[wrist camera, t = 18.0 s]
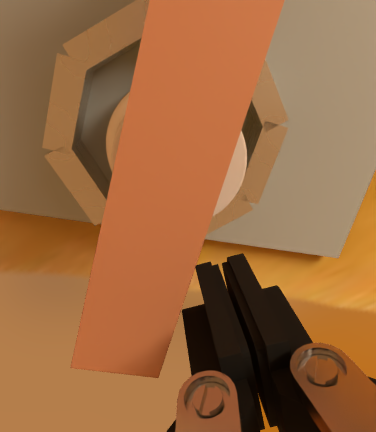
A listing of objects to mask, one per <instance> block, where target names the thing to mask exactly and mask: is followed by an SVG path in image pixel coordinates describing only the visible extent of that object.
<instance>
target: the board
mask: <svg viewBox="0 0 376 432" xmlns="http://www.w3.org/2000/svg"><path fill="white" fill-rule="evenodd" d="M134 1H136V0H0V210H5V211H12V212H19V213H26V214H33V215H40V216H47V217H54V218H61V219H68V220H75V221H82V222H89V223H92V221H91V220H90V219H89V217H88V216H87V214H86V213H85V212H84V210H83V209H82V208H81V206H80V205H79V203H78V202H77V201H76V199H75V198H74V197H73V195H72V194H71V192H70V191H69V190H68V188H67V187H66V186H65V184H64V183H63V181H62V180H61V179H60V177H59V176H58V175H57V173H56V172H55V170H54V169H53V168H52V166H51V165H50V163H49V162H48V161H47V159H46V158H45V157H44V156H45V155H46V154H47V153H49V152H50V151H51V150H49V149H45V148H42V145H43V139H44V132H45V126H46V120H47V113H48V107H49V101H50V94H51V88H52V82H53V75H54V69H55V63H56V56H57V53H59V54H63V55H67V56H69V55H68V53H67V52H66V50H65V49H64V47H63V44H64V43H66V42H68V41H69V40H71V39H73V38H74V37H76V36H78V35H79V34H81V33H83V32H84V31H86V30H88V29H89V28H91V27H93V26H94V25H96V24H97V23H99V22H101V21H102V20H104V19H106V18H107V17H109V16H111V15H112V14H114V13H116V12H117V11H119V10H121V9H122V8H124V7H126V6H127V5H129V4H131V3H132V2H134ZM139 47H140V44H139V45H138V46H136V47H134V48H133V49H131V50H129V51H128V52H126V53H124V54H122V55H121V56H119V57H117V58H116V59H114V60H112V61H111V62H109V63H107V64H106V65H104V66H102V67H100V68H99V69H97V70H95V71H94V75H93V81H92V86H91V91H90V96H89V101H88V106H87V111H86V116H85V121H84V127H83V132H82V137H81V140H82V141H83V143H84V144H85V146H86V147H87V149H88V150H89V152H90V153H91V155H92V156H93V158H94V159H95V161H96V162H97V164H98V165H99V167H100V168H101V170H102V171H103V173H104V175H105V176H106V178H107V179H108V181H109V182H111V177H112V170H111V168H110V165H109V162H108V157H107V152H106V134H107V129H108V125H109V121H110V119H111V116H112V114H113V112H114V110H115V108H116V107H117V105H118V104H119V102H120V101H121V100H122V99H123V98H124V97H125V96H126V95H127V94H128V93H129V92H130V89H131V85H132V80H133V75H134V71H135V66H136V61H137V57H138V52H139ZM265 59H266V62H267V64H268V67H269V69H270V72H271V75H272V77H273V80H274V82H275V85H276V88H277V90H278V93H279V96H280V98H281V101H282V103H283V106H284V109H285V111H286V114H287V116H288V119H289V120H287V121H285V122H284V123H282V124H280V125H281V126H284V127H287V128H288V130H287V133H286V136H285V138H284V141H283V143H282V146H281V148H280V151H279V153H278V156H277V158H276V161H275V163H274V166H273V168H272V171H271V173H270V176H269V178H268V181H267V183H266V186H265V188H264V191H263V193H262V196H261V198H260V201H259V203H258V204H255V203H251V202H249V203H250V205H251V207H252V209H253V210H252V211H250V212H248V213H246V214H244V215H243V216H241V217H239V218H237V219H235V220H233V221H231V222H229V223H228V224H226V225H224V226H222V227H220V228H218V229H216V230H214V231H212V232H211V233H209V234H207V235H206V237H205V239H208V240H215V241H222V242H228V243H235V244H242V245H249V246H256V247H263V248H270V249H277V250H284V251H291V252H298V253H305V254H312V255H319V256H326V257H333V258H339V256H340V253H341V251H342V248H343V246H344V244H345V241H346V239H347V237H348V234H349V232H350V229H351V227H352V225H353V222H354V220H355V217H356V215H357V213H358V210H359V208H360V205H361V203H362V201H363V198H364V196H365V194H366V191H367V189H368V186H369V184H370V182H371V179H372V177H373V174H374V172H375V170H376V0H285V1H284V4H283V7H282V10H281V13H280V16H279V19H278V22H277V25H276V28H275V31H274V34H273V37H272V40H271V43H270V46H269V49H268V52H267V55H266V58H265ZM246 123H247V118H246V117H245V120H244V123H243V126H242V129H241V131H242V133H243V132H244V129H245V126H246ZM99 224H102V222H101V223H99Z"/></svg>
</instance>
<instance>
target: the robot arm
mask: <svg viewBox="0 0 376 432" xmlns="http://www.w3.org/2000/svg"><path fill="white" fill-rule="evenodd" d="M222 266H223V271H224V276H225V281H226V285H227V288H226V285H225V282H224V280H223V277H222V274H221V272H220V269H219V266H218V264H217V265H213V266H212V264H211V262H207V263H203V264H199V265H196V267H195V268H196V272H197V276H198V280H199V284H200V288H201V292H202V296H203V300H204V304H202V305H198V306H195V307H191V308H187V309H183V310H182V315H183V321H184V328H185V335H186V341H187V348H188V355H189V361H190V368H191V374H192V376H191V377H190V378H189V379H188V380H187V381H186V382H185V383H184V384H183V386H182V387H181V389H180V391H179V395H178V399H177V413H176V420H175V421H174V422H173V424H172V425H171V426H170V428H169V429H168V430H167V432H260V430H263V429H265V426H264V421H263V416H262V412H261V406H260V401H259V397H260V400H261V403H262V406H263V409H264V412H265V415H266V417H267V420H268V423H269V425H270V427H274V426H277V427H278V430H279V432H376V379H373V378H370V377H367V376H366V375H365V374H364V373H363V371H362V370H361V369H360V368H359V367H358V366H357V365H356V364H355V363H354V362H353V361H352V360H351V359H350V358H349V356H347V355H346V354H345V353H344V352H343V351H342V350H340V349H338V348H336V347H334V346H332V345H329V344H324V343H313V342H312V340H311V339H310V337H309V335H308V334H307V332H306V330H305V329H304V327H303V326H302V324H301V322H300V321H299V319H298V317H297V316H296V314H295V312H294V311H293V309H292V308H291V306H290V304H289V303H288V301H287V299H286V298H285V296H284V294H283V293H282V291H281V290H280V288H279V287H278V286H277V285H276V286H272V287H268V288H264V289H262V288H261V286H260V284H259V282H258V281H257V279H256V277H255V275H254V273H253V271H252V269H251V267H250V265H249V264H248V262H247V260H246V258H245V256H244V254H243V253H242V254H238V255H234V256H230V257H227V262H224V263H222ZM258 394H259V396H258Z"/></svg>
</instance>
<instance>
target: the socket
mask: <svg viewBox="0 0 376 432" xmlns="http://www.w3.org/2000/svg"><path fill="white" fill-rule="evenodd" d="M149 1H150V0H136V1H134V2H132V3H131V4H129V5H127V6H126V7H124V8H122V9H121V10H119V11H117V12H116V13H114V14H112V15H111V16H109V17H107V18H106V19H104V20H102V21H101V22H99V23H97V24H96V25H94V26H93V27H91V28H89V29H88V30H86V31H84V32H83V33H81V34H79V35H78V36H76V37H74V38H73V39H71V40H69V41H68V42H66V43H64V44H63V47H64V49H65V50H66V52H67V53H68V55H69V56H67V55H63V54H59V53H57V56H56V63H55V69H54V75H53V82H52V88H51V94H50V101H49V107H48V113H47V120H46V126H45V132H44V139H43V145H42V148H45V149H49V150H51V151H50V152H49V153H47V154H46V155H45V156H44V157H45V158H46V159H47V161H48V162H49V163H50V165H51V166H52V168H53V169H54V170H55V172H56V173H57V175H58V176H59V177H60V179H61V180H62V181H63V183H64V184H65V186H66V187H67V188H68V190H69V191H70V192H71V194H72V195H73V197H74V198H75V199H76V201H77V202H78V203H79V205H80V206H81V208H82V209H83V210H84V212H85V213H86V214H87V216H88V217H89V219H90V220H91V221H92V223H93V224H94V226H96V225H98V224H99V223H101V222H102V219H103V215H104V210H105V205H106V201H107V196H108V191H109V187H110V182H109V181H108V179H107V178H106V176H105V175H104V173H103V171H102V170H101V168H100V167H99V165H98V164H97V162H96V161H95V159H94V158H93V156H92V155H91V153H90V152H89V150H88V149H87V147H86V146H85V144H84V143H83V141H82V140H81V137H82V132H83V127H84V121H85V116H86V111H87V106H88V101H89V96H90V91H91V86H92V81H93V75H94V71H95V70H97V69H99V68H100V67H102V66H104V65H106V64H107V63H109V62H111V61H112V60H114V59H116V58H117V57H119V56H121V55H122V54H124V53H126V52H128V51H129V50H131V49H133V48H134V47H136V46H138V45H139V44H140V43H141V38H142V33H143V29H144V24H145V20H146V15H147V10H148V6H149ZM246 118H247V123H246V126H245V129H244V132H243V136H244V140H245V144H246V149H247V167H246V172H245V176H244V179H243V182H242V184H241V187H240V189H239V191H238V192H237V194H236V195H235V197H234V198H233V200H232V201H231V202H230V203H229V204H228V205H227V206H226V207H225V208H224V209H223V210H222V211H220V212H219V213H218V214H216V215H215V216H213V217H212V219H211V222H210V225H209V228H208V231H207V234H209V233H211V232H212V231H214V230H216V229H218V228H220V227H222V226H224V225H226V224H228V223H229V222H231V221H233V220H235V219H237V218H239V217H241V216H243V215H244V214H246V213H248V212H250V211H252V210H253V209H252V207H251V205H250V203H249V202H251V203H255V204H258V203H259V201H260V198H261V196H262V193H263V191H264V188H265V186H266V183H267V181H268V178H269V176H270V173H271V171H272V168H273V166H274V163H275V161H276V158H277V156H278V153H279V151H280V148H281V146H282V143H283V141H284V138H285V136H286V133H287V130H288V128H287V127H284V126H281V125H280V124H282V123H284V122H285V121H287V120H289V119H288V116H287V114H286V111H285V109H284V106H283V103H282V101H281V98H280V96H279V93H278V90H277V88H276V85H275V82H274V80H273V77H272V75H271V72H270V69H269V67H268V64H267V62H266V59H265V61H264V64H263V67H262V70H261V73H260V76H259V79H258V82H257V85H256V88H255V91H254V94H253V97H252V99H251V102H250V105H249V108H248V111H247V114H246ZM207 234H206V235H207Z"/></svg>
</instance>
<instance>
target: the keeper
mask: <svg viewBox="0 0 376 432" xmlns="http://www.w3.org/2000/svg"><path fill="white" fill-rule="evenodd" d="M284 1H285V0H150V1H149V6H148V10H147V15H146V20H145V24H144V29H143V33H142V38H141V43H140V47H139V52H138V57H137V61H136V66H135V71H134V75H133V80H132V85H131V89H130V94H129V99H128V103H127V108H126V112H125V117H124V122H123V126H122V131H121V136H120V140H119V145H118V150H117V154H116V159H115V164H114V168H113V173H112V177H111V182H110V187H109V191H108V196H107V201H106V205H105V210H104V215H103V219H102V224H101V229H100V233H99V238H98V243H97V247H96V252H95V256H94V261H93V266H92V270H91V275H90V280H89V284H88V289H87V294H86V298H85V303H84V308H83V312H82V317H81V321H80V326H79V331H78V335H77V340H76V345H75V349H74V354H73V359H72V364H71V368H75V369H84V370H93V371H102V372H110V373H119V374H128V375H137V376H145V377H154V378H158V377H159V374H160V371H161V368H162V365H163V362H164V359H165V356H166V353H167V350H168V347H169V344H170V341H171V338H172V335H173V333H174V329H175V326H176V324H177V320H178V317H179V315H180V312H181V309H182V306H183V303H184V300H185V297H186V294H187V291H188V288H189V285H190V282H191V279H192V276H193V273H194V270H195V267H196V264H197V261H198V258H199V255H200V252H201V249H202V246H203V243H204V240H205V237H206V234H207V231H208V228H209V225H210V222H211V219H212V216H213V213H214V210H215V207H216V204H217V201H218V198H219V195H220V192H221V189H222V186H223V183H224V180H225V177H226V174H227V171H228V168H229V165H230V162H231V159H232V156H233V153H234V150H235V147H236V144H237V141H238V138H239V135H240V132H241V129H242V126H243V123H244V120H245V117H246V114H247V111H248V108H249V105H250V102H251V99H252V97H253V94H254V91H255V88H256V85H257V82H258V79H259V76H260V73H261V70H262V67H263V64H264V61H265V58H266V55H267V52H268V49H269V46H270V43H271V40H272V37H273V34H274V31H275V28H276V25H277V22H278V19H279V16H280V13H281V10H282V7H283V4H284Z"/></svg>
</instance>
